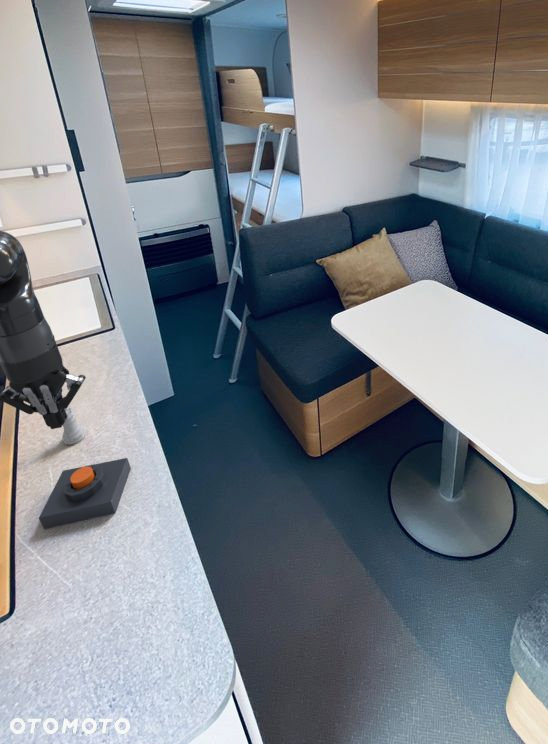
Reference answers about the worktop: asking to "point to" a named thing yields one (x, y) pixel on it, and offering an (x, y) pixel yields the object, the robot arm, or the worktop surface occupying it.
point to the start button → (82, 477)
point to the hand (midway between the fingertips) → (59, 424)
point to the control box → (86, 495)
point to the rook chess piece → (72, 429)
